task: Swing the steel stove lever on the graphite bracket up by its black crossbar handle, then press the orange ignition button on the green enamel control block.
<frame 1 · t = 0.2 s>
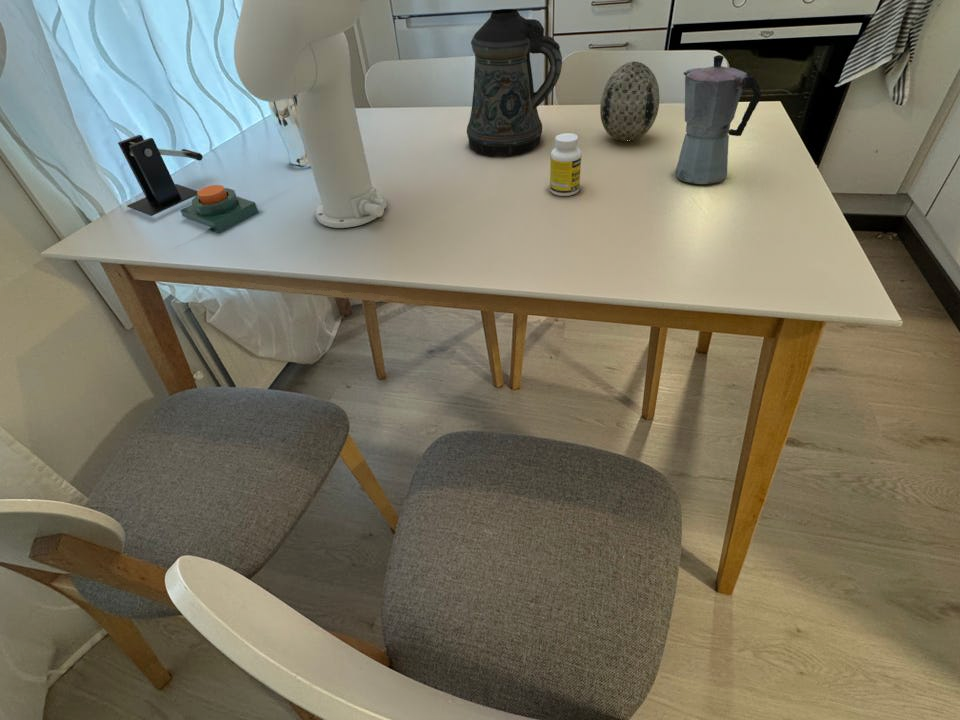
ignition button: (212, 194, 102), point 4 cm above the table, slide at 0.1 cm
supplement bottle: (564, 191, 102), on the table
moka pot: (702, 177, 102), on the table
lever bracket: (166, 204, 111), on the table
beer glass: (304, 164, 122), on the table
decorative egg: (625, 140, 117), on the table
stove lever: (165, 152, 108), point 9 cm above the table, hinge at -25.0°
beer stein: (511, 143, 121), on the table
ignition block: (221, 216, 105), on the table
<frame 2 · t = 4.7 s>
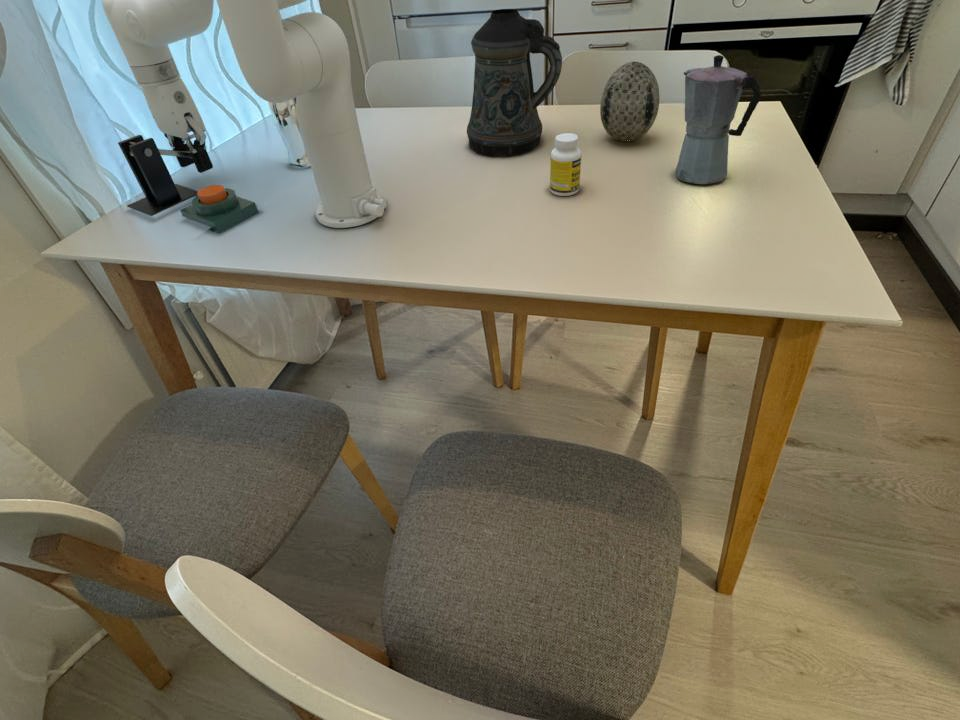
hand: (196, 166, 113), 4 cm above the table, tool pointing down, fingers closed on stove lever, 5 cm apart
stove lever: (165, 152, 108), point 9 cm above the table, hinge at -25.0°, touching gripper
everything else where it was.
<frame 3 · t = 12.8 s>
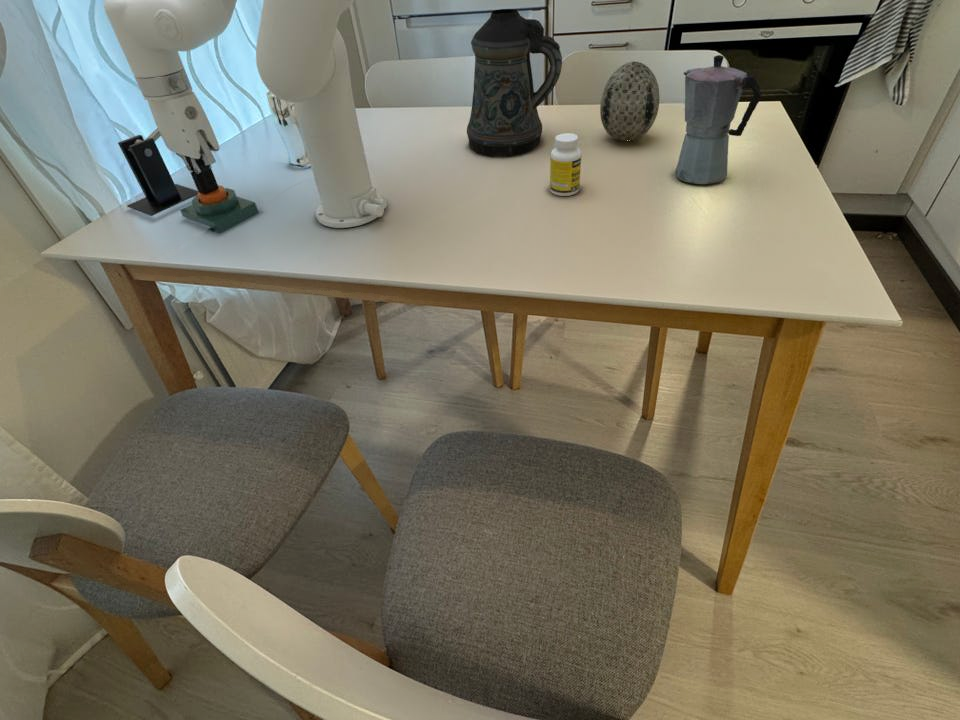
hand: (209, 190, 101), 5 cm above the table, tool pointing down, fingers closed
ignition button: (212, 195, 102), point 4 cm above the table, slide at 0.0 cm, touching gripper
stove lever: (157, 133, 105), point 13 cm above the table, hinge at 19.7°
everything else where it was.
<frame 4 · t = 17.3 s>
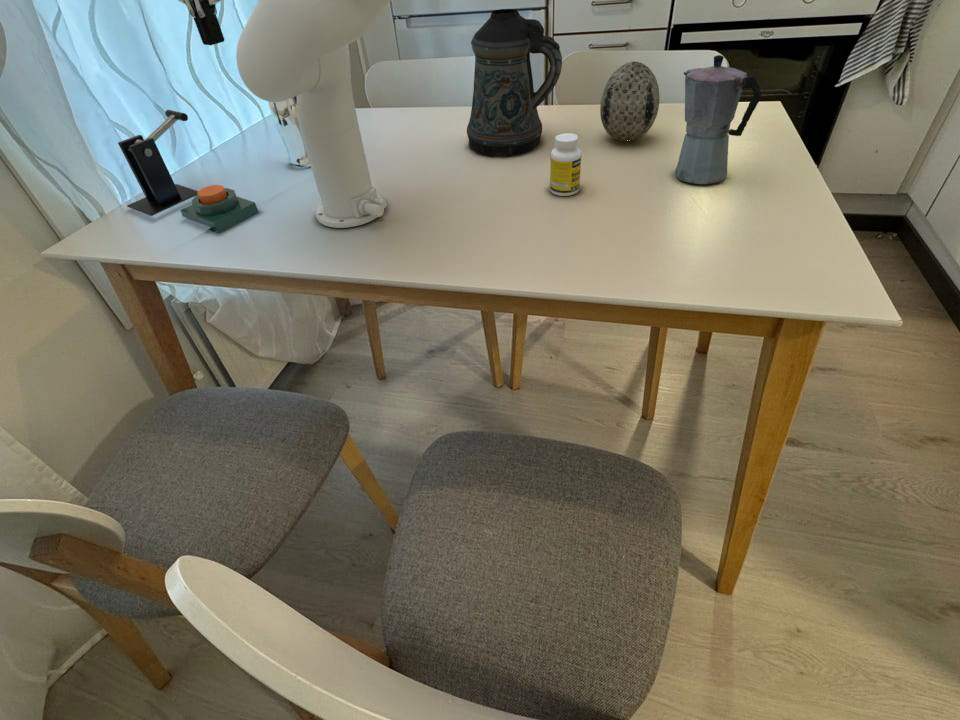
hand: (214, 42, 93), 27 cm above the table, tool pointing down, fingers closed
ignition button: (212, 194, 102), point 4 cm above the table, slide at 0.1 cm
everything else where it was.
at the end: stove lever at +20° (first picture: -25°); ignition button pushed in 1.0 cm at the most during the clip, back to where it started at the end; ignition button slide at 0.1 cm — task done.
